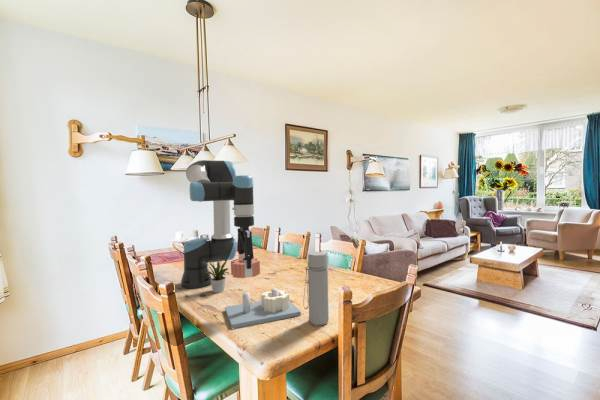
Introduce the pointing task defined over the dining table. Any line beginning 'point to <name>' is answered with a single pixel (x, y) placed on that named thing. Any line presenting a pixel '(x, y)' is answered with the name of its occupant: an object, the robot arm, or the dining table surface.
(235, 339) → the dining table surface
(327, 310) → the water bottle
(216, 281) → the house plant
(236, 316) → the board
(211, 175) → the robot arm
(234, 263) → the gear
